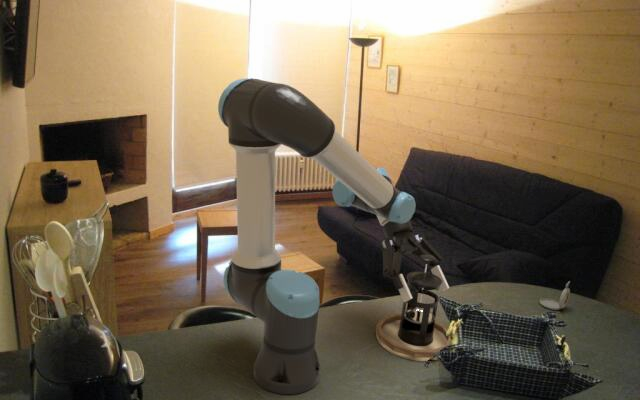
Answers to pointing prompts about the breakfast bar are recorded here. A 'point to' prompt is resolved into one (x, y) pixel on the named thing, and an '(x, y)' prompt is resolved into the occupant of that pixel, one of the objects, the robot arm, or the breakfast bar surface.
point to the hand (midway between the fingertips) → (427, 295)
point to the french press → (419, 307)
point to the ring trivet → (396, 346)
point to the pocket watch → (554, 304)
